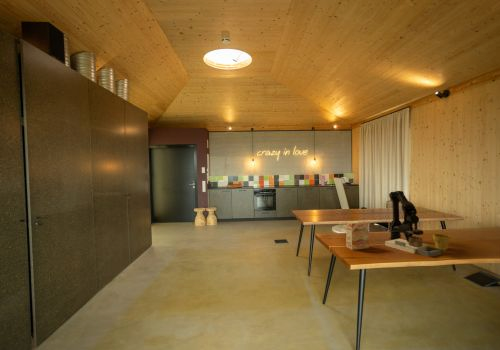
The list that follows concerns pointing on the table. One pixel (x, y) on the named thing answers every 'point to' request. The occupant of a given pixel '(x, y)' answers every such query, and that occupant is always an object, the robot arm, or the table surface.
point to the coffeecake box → (357, 235)
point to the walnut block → (415, 241)
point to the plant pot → (441, 241)
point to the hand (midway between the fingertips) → (408, 241)
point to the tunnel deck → (404, 246)
